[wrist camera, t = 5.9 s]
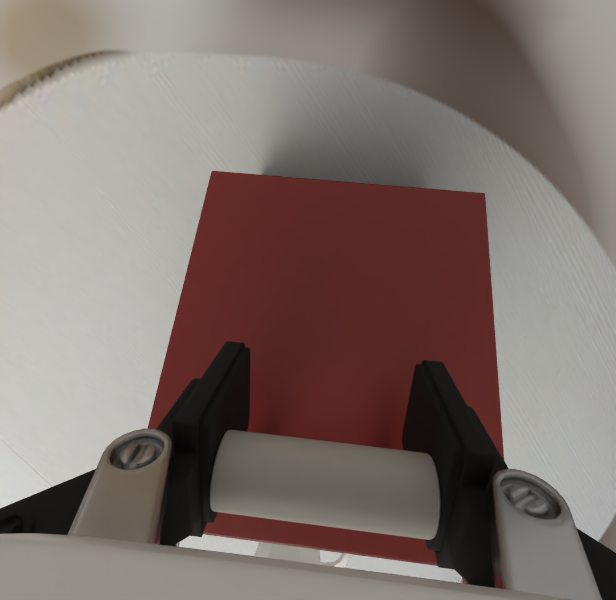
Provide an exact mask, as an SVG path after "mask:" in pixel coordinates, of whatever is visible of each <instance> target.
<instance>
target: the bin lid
mask: <svg viewBox="0 0 616 600" xmlns="http://www.w3.org/2000/svg"><path fill="white" fill-rule="evenodd" d="M226 341H231V342H241V343H244V344H245V347H247V348H250V420H249V426H248V429H247V432H246V431H238V430H228V431H227V432H226V433H225V434H224V436H223V438H222V440H221V442H220V445H219V448H218V451H217V454H216V457H215V461H214V465H213V470H212V476H211V483H210V507H211V509H212V510H213V511H214V512H218V513H217V516H216V518H215V521H214V522H213V523H209V522H207V524H206V527H205V529H204V532H203V534H206V535H214V536H221V537H228V538H236V539H243V540H251V541H258V542H265V543H273V544H280V545H288V546H295V547H302V548H310V549H317V550H325V551H332V552H339V553H347V554H354V555H362V556H369V557H376V558H384V559H391V560H399V561H406V562H413V563H421V564H428V565H435V566H438V564H437V560H436V556H435V552H434V551H433V550H429V549H428V548H427V546H426V542H425V539H426V540H430V539H433V538H434V537H435V536H436V533H437V531H438V527H439V521H440V513H441V495H440V484H439V478H438V473H437V469H436V466H435V463H434V461H433V459H432V457H431V456H430V455H429V454H427V453H422V452H414V451H405V450H403V446H402V432H403V427H404V422H405V416H406V411H407V406H408V401H409V395H410V390H411V385H412V380H413V374H414V369H415V366H416V364H421V363H422V361H423V360H429V361H439V362H443V363H444V365H445V367H446V369H447V371H448V372H449V374H450V376H451V378H452V379H453V381H454V383H455V385H456V386H457V388H458V390H459V392H460V394H461V395H462V397H463V399H464V401H465V402H466V404H467V406H470V407H472V408H473V409H474V411H475V412H476V414H477V416H478V417H479V419H480V421H481V422H482V424H483V426H484V428H485V429H486V431H487V433H488V434H489V436H490V438H491V440H492V441H493V443H494V445H495V446H496V448H497V450H498V452H499V453H500V455H501V457H502V458H503V460H504V454H503V440H502V426H501V412H500V398H499V384H498V370H497V356H496V342H495V328H494V314H493V300H492V286H491V272H490V258H489V244H488V230H487V215H486V201H485V194H484V193H474V192H462V191H450V190H438V189H426V188H414V187H401V186H389V185H377V184H365V183H353V182H341V181H329V180H316V179H304V178H292V177H280V176H268V175H256V174H243V173H231V172H219V171H212V172H211V176H210V180H209V184H208V188H207V192H206V196H205V200H204V204H203V208H202V212H201V216H200V220H199V224H198V228H197V232H196V236H195V240H194V244H193V248H192V252H191V256H190V260H189V264H188V268H187V272H186V276H185V281H184V285H183V289H182V293H181V297H180V301H179V305H178V309H177V313H176V317H175V321H174V325H173V329H172V333H171V337H170V341H169V345H168V349H167V353H166V357H165V361H164V365H163V369H162V373H161V377H160V381H159V385H158V389H157V393H156V397H155V401H154V405H153V409H152V413H151V417H150V421H149V425H148V429H156V428H157V427H158V426H159V424H160V423H161V422H162V420H163V419H164V417H165V416H166V415H167V413H168V412H169V410H170V409H171V408H172V406H173V405H174V404H175V402H176V401H177V399H178V398H179V397H180V395H181V394H182V392H183V391H184V390H185V388H186V387H187V386H188V384H189V383H190V381H191V380H192V379H194V378H199V379H201V377H202V376H203V374H204V373H205V371H206V370H207V369H208V367H209V366H210V364H211V363H212V361H213V360H214V358H215V357H216V355H217V354H218V352H219V351H220V349H221V348H222V347H223V345H224V344H225V342H226Z"/></svg>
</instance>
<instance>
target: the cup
mask: <svg viewBox="0 0 616 600" xmlns="http://www.w3.org/2000/svg"><path fill="white" fill-rule="evenodd" d="M255 556H256V557H264V558H272V559H280V560H287V561H295V562H303V563H311V564H319V565H326V566H334V567H342V568H344V567H345V566H346V564H347V562H348V561H349V559H350V558H351V556H352V554H347V553H342V555H341V556H340V558H339V559H338V560H336V561H335V562H327V563H322V562H320V552H319V550H317V549H310V548H302V547H295V546H288V545H280V544H273V543H265V542H259V545H258V548H257V551H256V553H255Z"/></svg>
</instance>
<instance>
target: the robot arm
mask: <svg viewBox="0 0 616 600" xmlns="http://www.w3.org/2000/svg"><path fill="white" fill-rule="evenodd" d="M249 420H250V348H247V347H245V344H244V343H241V342H231V341H226V342H225V344H224V345H223V347H222V348H221V349H220V351H219V352H218V354H217V355H216V357H215V358H214V360H213V361H212V363H211V364H210V366H209V367H208V369H207V370H206V371H205V373H204V374H203V376H202V377H201V379H199V378H194V379H192V380H191V381H190V383H189V384H188V386H187V387H186V388H185V390H184V391H183V392H182V394H181V395H180V397H179V398H178V399H177V401H176V402H175V404H174V405H173V406H172V408H171V409H170V410H169V412H168V413H167V415H166V416H165V417H164V419H163V420H162V422H161V423H160V424H159V426H158V427H157V428H156V429H141V430H136V431H132V432H130V433H127V434H124V435H122V436H121V437H119V438H117V439H116V440H114V441H113V442H112V443H111V444H110V445H109V446H108V447H107V448H106V450H105V451H104V453H103V454H102V457H101V459H100V461H99V464H98V466H97V468H96V469H95V470H92V471H90V472H87V473H85V474H83V475H80V476H78V477H75V478H73V479H71V480H68V481H66V482H63V483H61V484H59V485H56V486H54V487H51V488H49V489H46V490H44V491H42V492H39V493H37V494H34V495H32V496H30V497H27V498H25V499H22V500H20V501H18V502H15V503H13V504H10V505H8V506H5V507H3V508H1V509H0V600H616V553H615V552H613V551H612V550H610V549H609V548H607V547H605V546H604V545H602V544H601V543H599V542H598V541H596V540H594V539H593V538H591V537H590V536H588V535H587V534H585V533H583V532H582V531H580V530H579V529H577V528H576V526H575V523H574V520H573V517H572V515H571V512H570V509H569V507H568V505H567V503H566V501H565V499H564V498H563V497H562V496H561V495H560V494H559V493H558V491H557V490H556V489H554V488H553V487H552V486H551V485H549V484H548V483H547V482H545V481H544V480H542V479H540V478H538V477H537V476H535V475H532V474H530V473H527V472H525V471H521V470H516V469H508V467H507V465H506V463H505V462H504V460H503V458H502V457H501V455H500V453H499V452H498V450H497V448H496V446H495V445H494V443H493V441H492V440H491V438H490V436H489V434H488V433H487V431H486V429H485V428H484V426H483V424H482V422H481V421H480V419H479V417H478V416H477V414H476V412H475V411H474V409H473V408H472V407H470V406H467V404H466V402H465V401H464V399H463V397H462V395H461V394H460V392H459V390H458V388H457V386H456V385H455V383H454V381H453V379H452V378H451V376H450V374H449V372H448V371H447V369H446V367H445V365H444V363H443V362H439V361H429V360H423V361H422V363H421V364H416V366H415V369H414V374H413V380H412V385H411V390H410V395H409V401H408V406H407V411H406V416H405V422H404V427H403V432H402V446H403V450H405V451H414V452H422V453H427V454H429V455H430V456H431V457H432V459H433V461H434V463H435V466H436V469H437V473H438V478H439V484H440V495H441V513H440V521H439V527H438V531H437V533H436V536H435V537H434V538H433V539H430V540H426V539H425V542H426V546H427V548H428V549H429V550H433V551H434V552H435V556H436V560H437V564H438V567H441V568H449V569H454V570H456V571H457V572H458V573H459V574H460V575H461V576H462V583H455V582H447V581H440V580H433V579H425V578H418V577H410V576H403V575H395V574H388V573H380V572H372V571H365V570H357V569H349V568H342V567H334V566H326V565H319V564H311V563H303V562H295V561H287V560H280V559H272V558H264V557H256V556H248V555H240V554H232V553H224V552H216V551H207V550H199V549H191V548H183V547H179V542H180V541H182V540H183V539H185V538H186V537H188V536H198V537H202V535H203V532H204V529H205V527H206V524H207V522H209V523H213V522H214V521H215V518H216V516H217V513H218V512H214V511H213V510H212V509H211V507H210V483H211V476H212V470H213V465H214V461H215V457H216V454H217V451H218V448H219V445H220V442H221V440H222V438H223V436H224V434H225V433H226V432H227V431H228V430H238V431H246V432H247V429H248V426H249Z"/></svg>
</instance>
